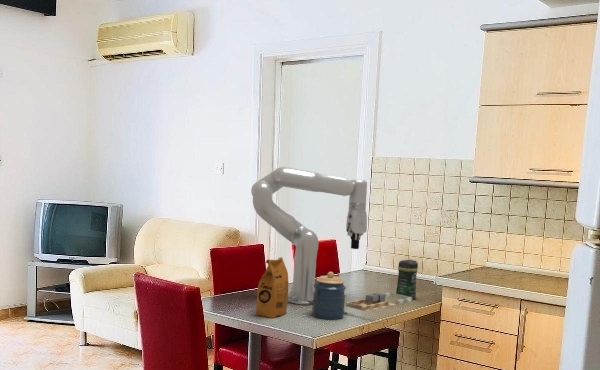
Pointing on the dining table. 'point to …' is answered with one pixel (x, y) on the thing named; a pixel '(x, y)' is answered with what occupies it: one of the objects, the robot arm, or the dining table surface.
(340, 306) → the canister
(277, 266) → the coffee package
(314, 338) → the dining table surface
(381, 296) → the grey cube
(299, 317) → the dining table surface
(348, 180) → the robot arm
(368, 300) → the gray cube
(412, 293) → the coffee jar
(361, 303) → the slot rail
